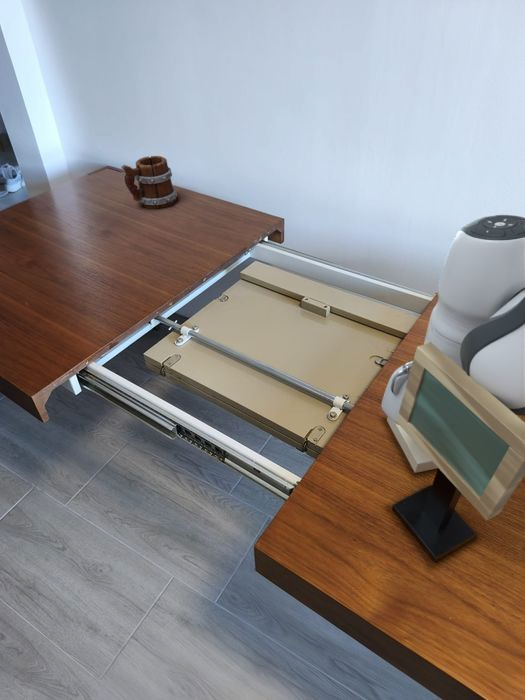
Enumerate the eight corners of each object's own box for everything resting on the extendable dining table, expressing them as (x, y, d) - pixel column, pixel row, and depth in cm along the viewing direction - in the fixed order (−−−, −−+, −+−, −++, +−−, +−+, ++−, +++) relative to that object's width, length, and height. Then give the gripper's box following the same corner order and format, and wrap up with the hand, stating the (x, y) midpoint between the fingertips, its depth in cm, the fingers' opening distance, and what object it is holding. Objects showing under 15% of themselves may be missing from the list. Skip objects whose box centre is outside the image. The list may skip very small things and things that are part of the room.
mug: (188, 198, 140) (173, 149, 129) (151, 222, 135) (132, 173, 124) (165, 188, 147) (149, 140, 136) (128, 210, 141) (109, 163, 130)
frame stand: (429, 489, 65) (470, 374, 50) (473, 538, 59) (533, 425, 45) (391, 509, 63) (422, 395, 48) (433, 562, 57) (483, 451, 43)
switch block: (479, 459, 68) (487, 442, 65) (414, 473, 67) (420, 456, 64) (445, 409, 76) (451, 391, 73) (386, 420, 74) (390, 403, 72)
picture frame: (408, 416, 56) (430, 341, 48) (499, 513, 47) (547, 440, 39) (395, 421, 56) (416, 346, 48) (486, 521, 46) (531, 449, 38)
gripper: (413, 386, 53) (395, 460, 62) (540, 331, 60) (507, 405, 69) (378, 354, 57) (366, 427, 66) (501, 305, 64) (474, 378, 73)
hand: (438, 415), depth 68 cm, fingers closed, pressing on light button
